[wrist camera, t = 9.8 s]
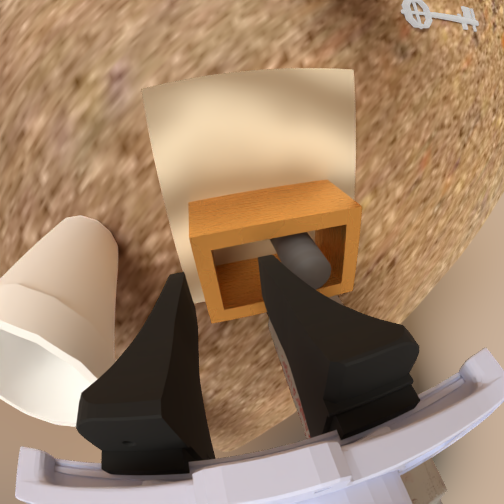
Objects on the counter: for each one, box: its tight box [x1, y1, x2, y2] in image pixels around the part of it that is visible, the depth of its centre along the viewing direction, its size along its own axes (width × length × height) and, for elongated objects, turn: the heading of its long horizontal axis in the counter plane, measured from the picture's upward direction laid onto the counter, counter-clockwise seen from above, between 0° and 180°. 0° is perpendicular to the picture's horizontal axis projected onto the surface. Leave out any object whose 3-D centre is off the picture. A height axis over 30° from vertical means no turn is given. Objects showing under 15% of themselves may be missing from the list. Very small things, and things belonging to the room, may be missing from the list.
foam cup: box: [0, 215, 118, 427], centre depth 15 cm, size 10×9×13 cm
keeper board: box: [141, 68, 356, 303], centre depth 18 cm, size 17×14×8 cm
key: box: [401, 0, 479, 32], centre depth 15 cm, size 12×1×3 cm
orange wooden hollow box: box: [188, 180, 362, 323], centre depth 19 cm, size 10×6×5 cm, turn 96°
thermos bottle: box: [268, 295, 447, 504], centre depth 18 cm, size 8×8×28 cm
